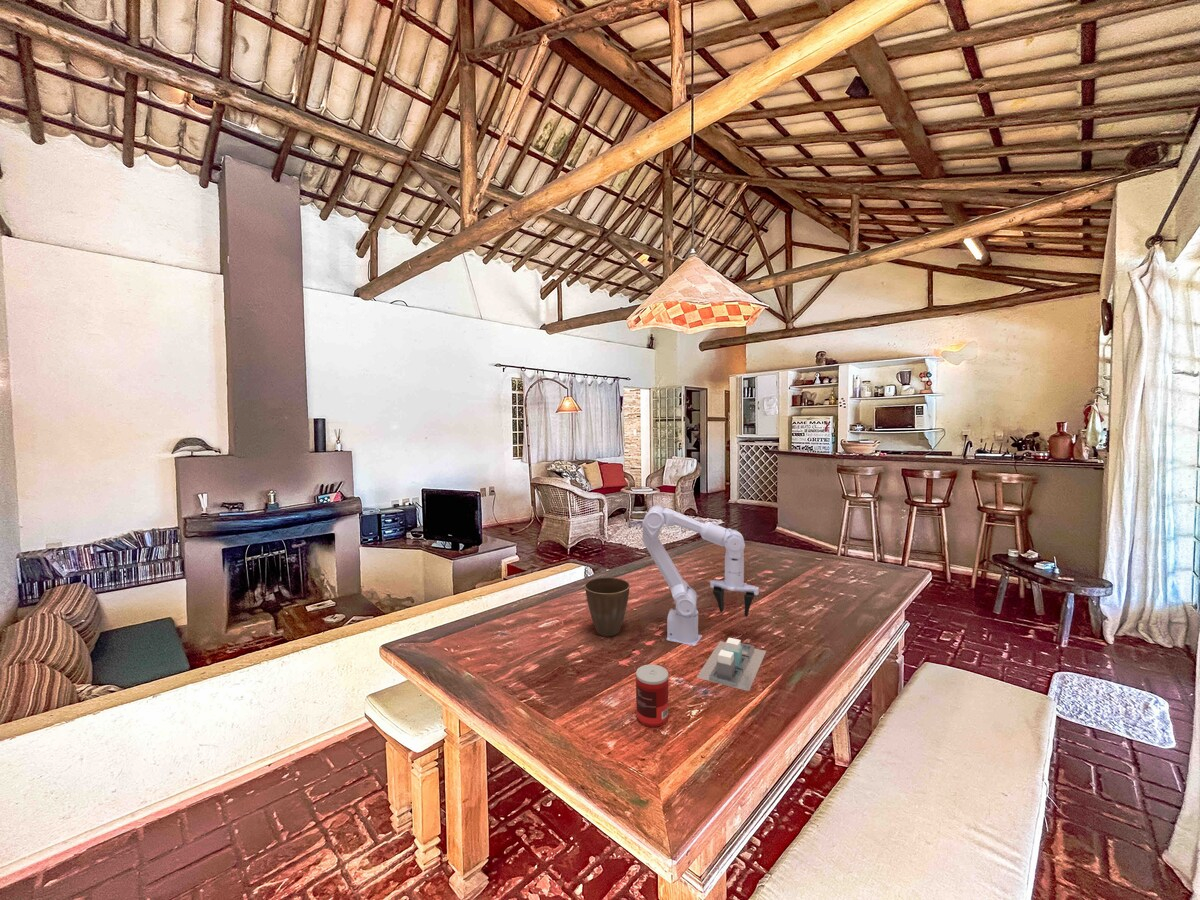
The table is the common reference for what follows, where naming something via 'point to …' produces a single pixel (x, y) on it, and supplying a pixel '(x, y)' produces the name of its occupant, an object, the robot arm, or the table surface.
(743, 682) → the panel
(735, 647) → the plug
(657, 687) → the canned food
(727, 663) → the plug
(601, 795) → the table surface
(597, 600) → the plant pot
